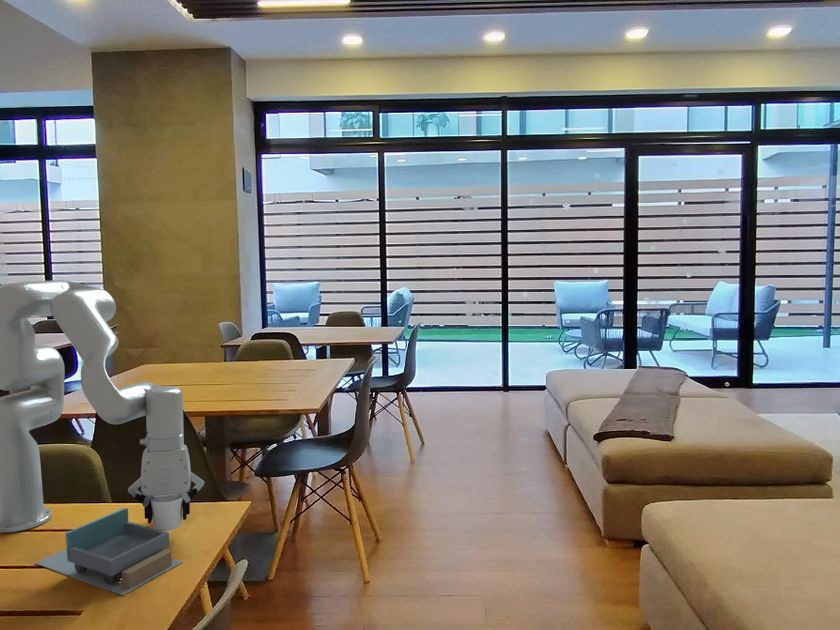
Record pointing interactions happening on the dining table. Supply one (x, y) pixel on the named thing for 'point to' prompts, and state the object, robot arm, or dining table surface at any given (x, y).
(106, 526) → the cart
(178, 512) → the white tapered cup
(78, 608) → the dining table surface
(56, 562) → the track
